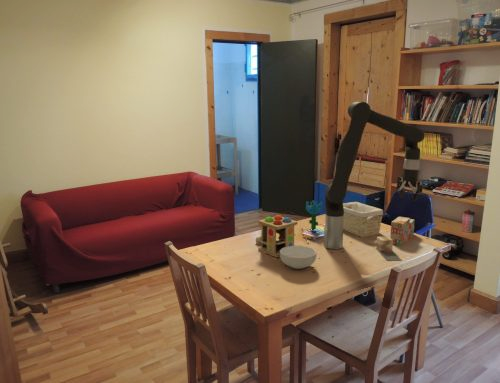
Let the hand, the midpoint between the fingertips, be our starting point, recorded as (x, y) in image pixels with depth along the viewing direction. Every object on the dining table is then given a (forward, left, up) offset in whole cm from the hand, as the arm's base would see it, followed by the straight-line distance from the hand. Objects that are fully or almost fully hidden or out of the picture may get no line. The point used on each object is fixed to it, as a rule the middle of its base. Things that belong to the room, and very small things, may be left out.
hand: (408, 198), depth 214 cm
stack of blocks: (+2, +9, -25) cm, 27 cm away
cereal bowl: (-60, -26, -25) cm, 70 cm away
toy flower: (-45, +23, -25) cm, 56 cm away
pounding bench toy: (-70, -3, -25) cm, 75 cm away
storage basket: (-18, +25, -25) cm, 40 cm away
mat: (-14, -14, -25) cm, 31 cm away
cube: (-14, -8, -25) cm, 29 cm away
